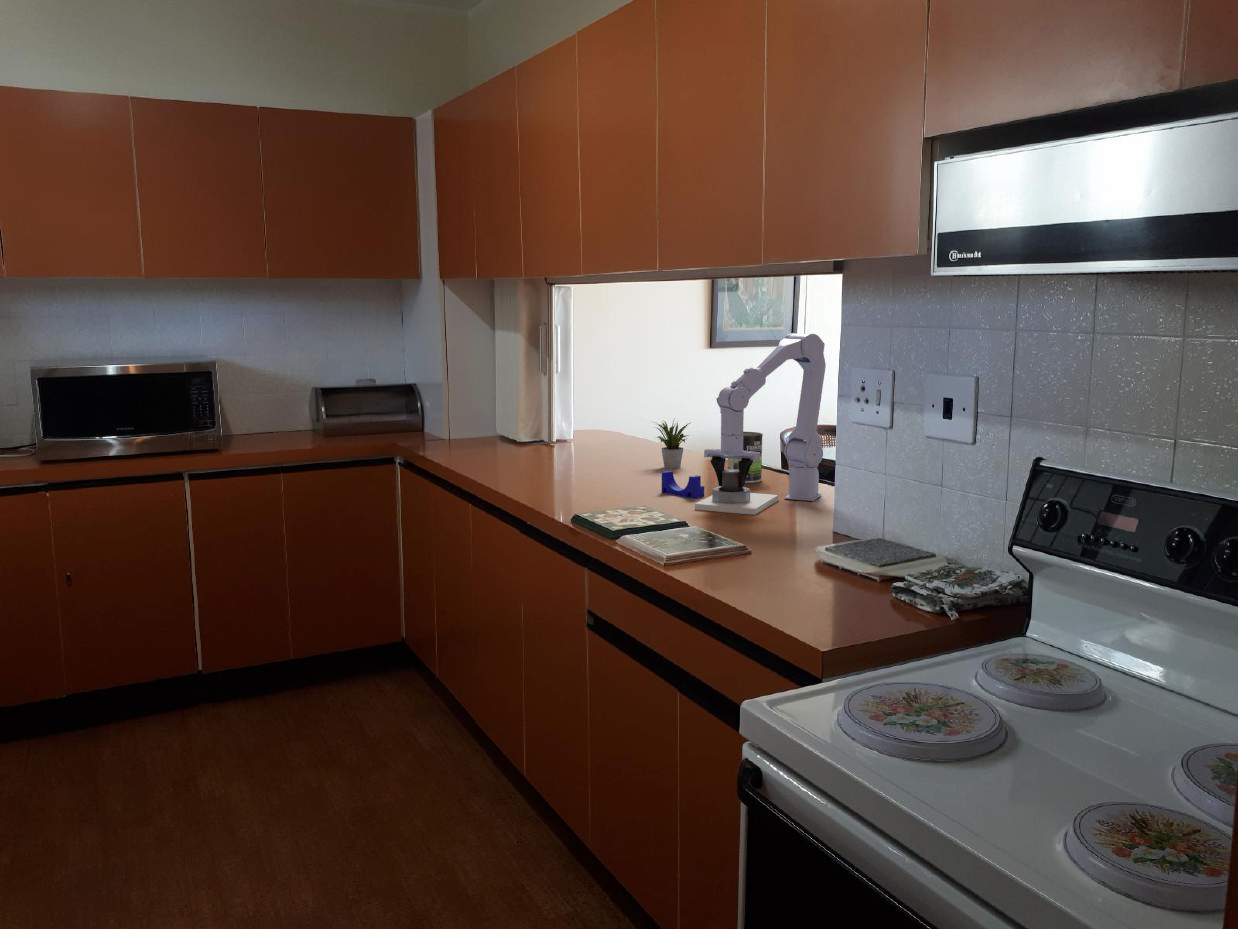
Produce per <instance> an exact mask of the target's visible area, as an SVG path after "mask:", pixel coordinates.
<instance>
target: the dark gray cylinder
mask: <svg viewBox="0 0 1238 929" xmlns="http://www.w3.org/2000/svg"><path fill="white" fill-rule="evenodd" d="M722 491H731V492H733V491H741V488H739V470H735V469H728V468H727V469H724V470H722Z"/></svg>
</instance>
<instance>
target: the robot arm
mask: <svg viewBox="0 0 1238 929" xmlns="http://www.w3.org/2000/svg"><path fill="white" fill-rule="evenodd" d="M824 351H825V342H824V341H823V340H822V339H821V337H820V336H819V335H818V334H816V333H795V332H791V333H788V334H786V336H785V337H784V338H782V339H780V341H779V343H778V345H777V346H776V347H775V348H774V350H772V351H771V353H769V354H768V355H767V356H766V358H765V359H764V360H762V362H760V364H759V365H758V366H756V367H749V368H745V369H744V370H743V374H742V375H740V376H739V377H738V378H737V379H736V380H734V381H732V382H731V383H730V384H731V385H730V386H727V387H723V388H722V389H721V390H720V391H719V393H718V396H717V397H716V404H717V405H718V407H719V409H720V412H719V413H720V449H718V448H715V449H713V448H711V449H710V448H706V449H704V450H703V453H704V454H703V457H704V458H711V459H710V464H711V466H712V468H713V469H714V472H715V475H716V478H717V482H718V483H717V484H718V486H722V470H725V466H726V465H725V464H726V459H728V458H730V459H741V460H740V461H738V465H739V488H742V487H745V485H746V483H745V480H746V477H747V474H748V471H749V469H750V467H751V465H752V463H753V460H754V461H758V460H760V452H751V451H744V450H743V432H744V414H745V413H744V412H745V410H744V409H747V407H748V405H749V403H750V399H751V398H752V397H753V396H754V395H755V394H756V393H757V392H758V391H759V390H760V389H762V388H763V387H764V386H765V385H766V379H767V377H768V376H769V375H771V374H772V373H773V372H774V371H776V370H777V369H778V368H779V367H781V366H782V365H783V364H784V363H785V362H787V361H789V360H793V361H795V362H796V363H797V364H798V365H799V366H800V367H801V369H802V371H803V374H802V380H801V390H800V395H799V396H800V398H799V404H798V411H797V417H796V423H795V425H796V426H795V428H794V430H792V431H791V432H790V433H789V435H788V440H787V442H786V444H785V446H784V449H783V450H784V452H783V453H784V456H785V459H787V461H788V465H789V477H788V480H789V481H788V488H789V489H788V494H787V495H786V496H784V499H785V500H796V501H805V502H806V501H808V502H813V501H816V500H818V499H819V498H820V497H821V496H822V495H823V494H822V493H819V482H820V481H819V479H820V474H819V472H820V471H819V469H818V467H819V464H820V463H821V461H823V460H822V459H823V457H824V450H823V439H822V436H820V434H819V433H818V429H817V428H818V422H819V416H820V408H821V402H822V396H823V388H824V380H825V374H826V366H827V365H826V359H825V358H826V357H825V355H824ZM734 456H738V457H734Z"/></svg>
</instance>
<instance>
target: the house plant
mask: <svg viewBox="0 0 1238 929" xmlns="http://www.w3.org/2000/svg"><path fill="white" fill-rule="evenodd" d="M675 419H676V417H675V418H673V420H672V425H671V426H670V427H668V424H667V421H665V420H664V419H663V420H662V421H661V424H658V423H657V422H655V421H653V423H654V424H655V425H658V427H653V429H654V428H655V429H657V430H659V432H660V433H661V435H662V436H660V435H658V436H656V439H657V438H658V439H659V440H660V443H662V442H663V443H664V445H665V446H664V447H661V453H662V454H661V455H662V461H663V468H664V467H665V468H664V469H668V468H677V469H680V468H681V465H682V460H683V454H684V447H680V445H681V444H682V442H683V443H684V444H685V443H686V438H687V437H689V436H690V435H685V434H684V433H683V431H684V430H685V429H686V428H687V427H688V425H690V424H692V423H693V422H689V423H686V424H685V425H683V427H681V428H680V429H679V423H678V422H676V424H674V423H675ZM650 422H651V423H652V421H650ZM650 422H649V423H650ZM659 427H660V428H659ZM674 429H675V430H674ZM683 438H684V439H683Z"/></svg>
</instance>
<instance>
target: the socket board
mask: <svg viewBox="0 0 1238 929" xmlns="http://www.w3.org/2000/svg"><path fill="white" fill-rule="evenodd" d="M778 501H779V494H768V493H758V492H757V493H755V492H751V488H748V487H746V486H744V487H742V488H741V491H733V492H731V491H722V486H719V485H718V486H716V487H714V488H712V493H711V495H710V496H707V497H705V498H703V499H702V500H699V501H698V502H696V503H694V510H696V511H709V512H718V513H719V512H720V513H727V514H728V513H730V514H742V515H753V516H756V515H758V514H759V513H761V512H762V511H763V510H765V509H767V508H769V507H771V505H774V504H775V503H777V502H778Z"/></svg>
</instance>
